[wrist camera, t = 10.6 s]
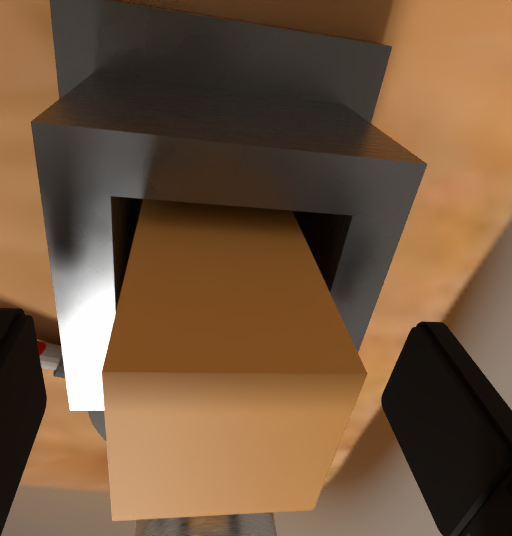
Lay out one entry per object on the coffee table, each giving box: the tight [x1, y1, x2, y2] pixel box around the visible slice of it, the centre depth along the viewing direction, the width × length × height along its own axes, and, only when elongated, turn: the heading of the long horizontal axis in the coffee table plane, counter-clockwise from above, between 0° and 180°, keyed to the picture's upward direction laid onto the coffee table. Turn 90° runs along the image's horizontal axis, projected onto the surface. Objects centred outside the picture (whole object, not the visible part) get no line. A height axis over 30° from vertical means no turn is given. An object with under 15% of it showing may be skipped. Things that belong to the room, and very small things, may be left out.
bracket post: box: [31, 0, 427, 536], centre depth 14 cm, size 20×12×16 cm, turn 172°
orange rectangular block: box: [101, 199, 367, 521], centre depth 13 cm, size 4×4×12 cm
